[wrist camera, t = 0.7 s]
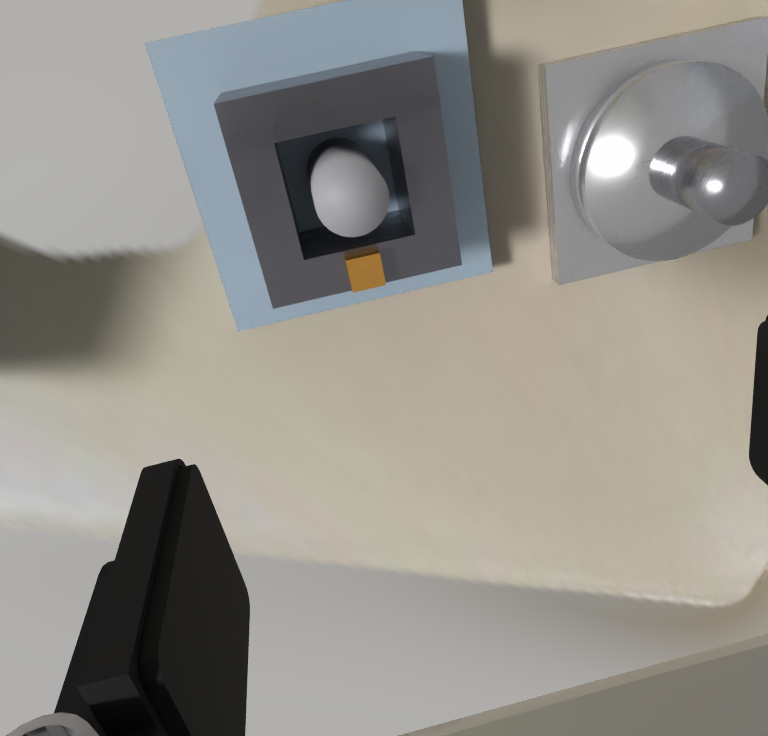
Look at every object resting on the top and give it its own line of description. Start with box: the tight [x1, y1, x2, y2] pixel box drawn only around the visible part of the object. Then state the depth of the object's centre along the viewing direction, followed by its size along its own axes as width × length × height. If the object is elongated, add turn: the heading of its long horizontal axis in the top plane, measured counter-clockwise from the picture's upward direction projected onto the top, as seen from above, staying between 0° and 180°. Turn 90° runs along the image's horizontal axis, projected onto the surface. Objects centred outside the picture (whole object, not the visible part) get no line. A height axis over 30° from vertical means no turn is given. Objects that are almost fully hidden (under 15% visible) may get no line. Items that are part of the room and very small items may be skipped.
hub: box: [538, 17, 768, 285], centre depth 26 cm, size 9×9×6 cm
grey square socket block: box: [214, 51, 462, 309], centre depth 24 cm, size 7×7×4 cm
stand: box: [145, 0, 493, 331], centre depth 24 cm, size 11×11×6 cm
